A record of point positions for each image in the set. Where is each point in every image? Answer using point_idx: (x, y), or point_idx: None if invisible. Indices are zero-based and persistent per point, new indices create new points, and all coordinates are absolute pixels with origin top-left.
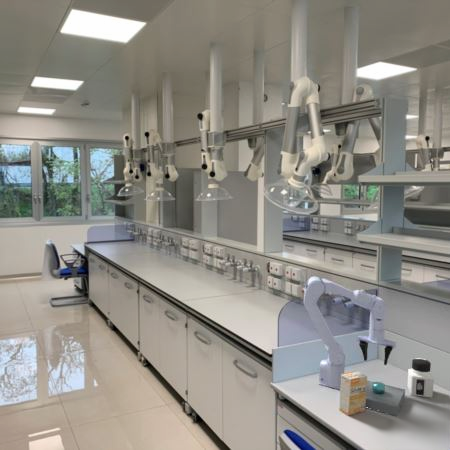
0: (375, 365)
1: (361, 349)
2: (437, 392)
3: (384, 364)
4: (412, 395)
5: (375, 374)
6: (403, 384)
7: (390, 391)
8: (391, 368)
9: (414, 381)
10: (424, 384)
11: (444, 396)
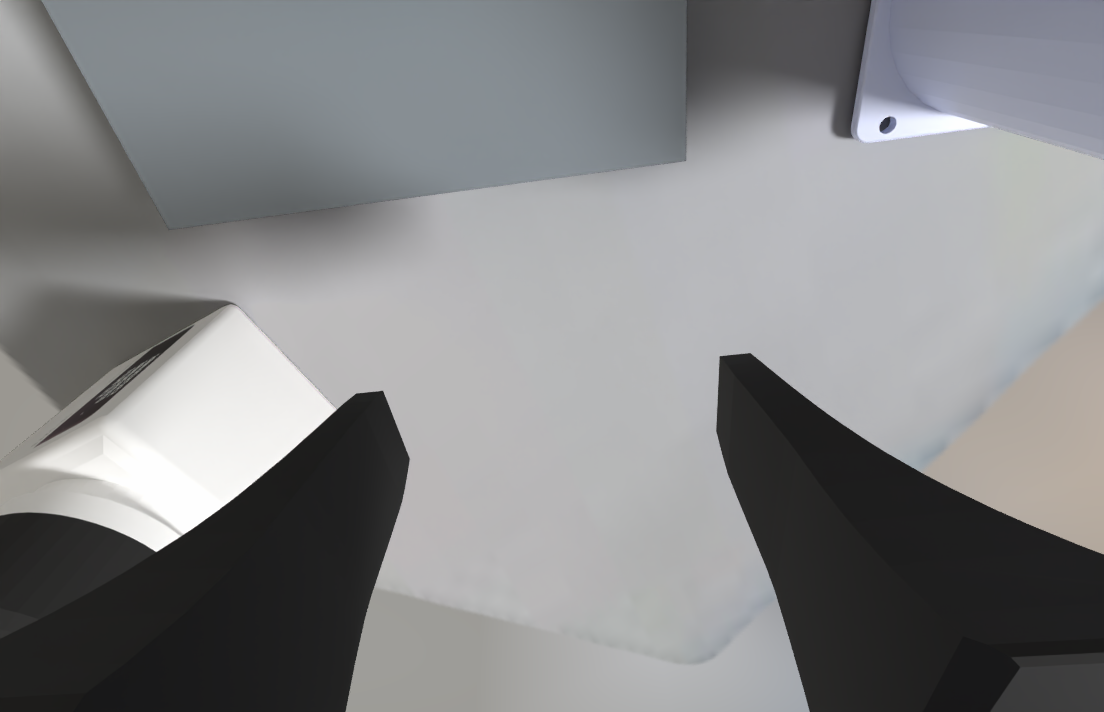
0: (687, 595)
1: (967, 497)
2: None
3: (372, 394)
4: (228, 306)
5: (642, 482)
6: None
7: (222, 24)
8: (580, 607)
9: (126, 390)
10: (73, 412)
11: None
